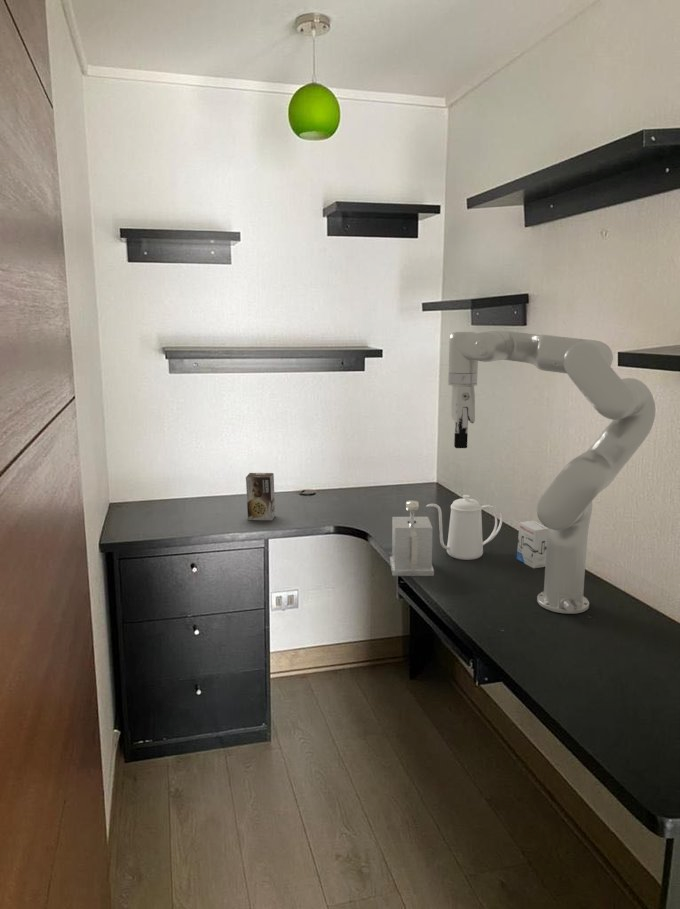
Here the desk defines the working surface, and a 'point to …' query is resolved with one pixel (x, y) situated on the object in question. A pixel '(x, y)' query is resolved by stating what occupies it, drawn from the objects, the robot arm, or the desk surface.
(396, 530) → the grey cube on plinth
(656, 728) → the desk surface
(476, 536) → the coffeepot
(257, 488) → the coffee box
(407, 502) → the plunger
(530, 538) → the ink box
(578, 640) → the desk surface
